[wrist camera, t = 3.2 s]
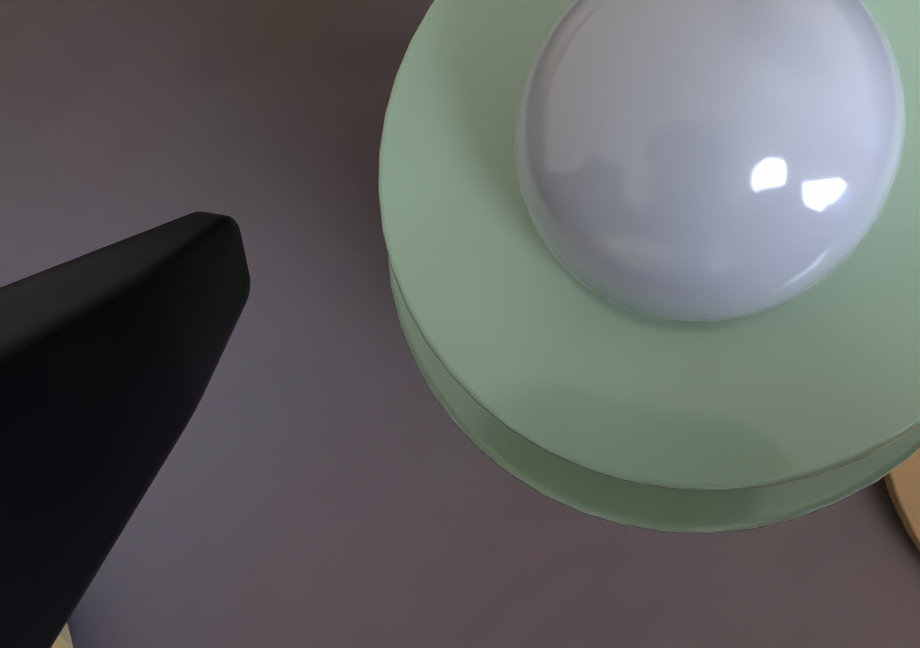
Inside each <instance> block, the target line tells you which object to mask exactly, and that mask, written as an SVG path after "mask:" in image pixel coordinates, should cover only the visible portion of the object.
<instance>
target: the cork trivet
mask: <svg viewBox="0 0 920 648" xmlns="http://www.w3.org/2000/svg"><path fill="white" fill-rule="evenodd" d="M884 480H885V483H886V486H887V489H888V492H889V495H890V498H891V501H892V503H893V505H894V507H895V509H896V511H897V513H898V515H899V517H900V520H901V522H902V524H903V526H904V528H905V530H906V532H907V533H908V535H909V536H910V538H911V539H912V541H913V543H914V544H915V546H916V547H917V549H918V550H919V552H920V449H919V450H918V451H917V452H916V453H914V454H913V455H912V456H911V457H910V458H909V459H908V460H906V461H905V462H903V463H902V464H901V465H899V466H898V467H897V468H895V469H894V470H892V471H891V472H890V473H888V474H887V475H885V476H884Z"/></svg>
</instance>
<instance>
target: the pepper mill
mask: <svg viewBox="0 0 920 648" xmlns="http://www.w3.org/2000/svg"><path fill="white" fill-rule="evenodd" d="M378 195H379V204H380V213H381V223H382V232H383V236H384V240H385V244H386V248H387V258H388V267H389V276H390V285H391V291H392V295H393V299H394V303H395V307H396V311H397V315H398V319H399V324H400V326H401V329H402V331H403V334H404V337H405V339H406V342H407V344H408V347H409V349H410V352H411V355H412V357H413V359H414V361H415V363H416V365H417V367H418V369H419V370H420V372H421V374H422V376H423V378H424V380H425V381H426V383H427V385H428V387H429V389H430V391H431V392H432V394H433V395H434V396H435V398H436V399H437V400H438V402H439V403H440V404H441V406H442V407H443V409H444V410H445V411H446V413H447V414H448V415H449V417H450V418H451V420H452V421H453V422H454V423H455V424H456V425H457V427H458V428H459V429H460V430H461V431H462V432H463V433H464V434H465V435H466V436H467V437H468V438H469V439H470V440H471V441H472V442H473V443H474V444H475V445H476V446H477V448H478V449H479V450H480V451H482V452H483V453H484V454H485V455H487V456H488V457H489V458H490V459H491V460H493V461H494V462H495V463H496V464H498V465H499V466H500V467H501V468H503V469H504V470H505V471H506V472H508V473H509V474H510V475H511V476H513V477H515V478H516V479H518V480H519V481H521V482H523V483H524V484H526V485H528V486H529V487H531V488H532V489H534V490H536V491H537V492H539V493H541V494H542V495H544V496H546V497H548V498H550V499H552V500H554V501H557V502H559V503H561V504H563V505H566V506H568V507H570V508H572V509H574V510H577V511H579V512H581V513H584V514H587V515H590V516H594V517H597V518H600V519H604V520H607V521H610V522H614V523H617V524H620V525H624V526H630V527H636V528H642V529H648V530H654V531H660V532H674V533H701V534H710V533H720V532H731V531H742V530H751V529H756V528H760V527H765V526H769V525H773V524H778V523H782V522H787V521H791V520H795V519H797V518H800V517H803V516H805V515H808V514H811V513H813V512H816V511H819V510H822V509H824V508H827V507H830V506H832V505H835V504H837V503H839V502H841V501H842V500H844V499H846V498H848V497H850V496H852V495H854V494H856V493H858V492H859V491H861V490H863V489H865V488H867V487H869V486H871V485H873V484H874V483H876V482H877V481H878V480H880V479H881V478H883V477H884V476H885V475H887V474H888V473H890V472H891V471H892V470H894V469H895V468H897V467H898V466H899V465H901V464H902V463H903V462H905V461H906V460H908V459H909V458H910V457H911V456H912V455H913V454H914V453H916V452H917V451H918V450H919V449H920V0H435V1H434V2H433V3H432V5H431V6H430V8H429V10H428V11H427V13H426V15H425V17H424V18H423V20H422V22H421V24H420V25H419V27H418V29H417V31H416V32H415V34H414V36H413V38H412V40H411V42H410V44H409V46H408V49H407V51H406V53H405V56H404V58H403V61H402V63H401V65H400V68H399V70H398V73H397V75H396V78H395V81H394V85H393V88H392V92H391V95H390V99H389V102H388V106H387V110H386V113H385V117H384V124H383V131H382V138H381V144H380V151H379V181H378Z"/></svg>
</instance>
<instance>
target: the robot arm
mask: <svg viewBox="0 0 920 648" xmlns="http://www.w3.org/2000/svg"><path fill="white" fill-rule="evenodd" d="M249 291H250V275H249V271H248V266H247V261H246V256H245V252H244V247H243V242H242V238H241V233H240V229H239V226H238V224H237V223H236V221H235V220H234V219H233V218H231V217H230V216H226V215H220V214H214V213H208V212H194V213H191V214H188V215H186V216H183V217H181V218H178V219H175V220H173V221H170V222H168V223H165V224H163V225H160V226H157V227H155V228H152V229H150V230H147V231H145V232H142V233H139V234H137V235H134V236H132V237H129V238H127V239H124V240H121V241H119V242H116V243H114V244H111V245H109V246H106V247H103V248H101V249H98V250H96V251H93V252H91V253H88V254H85V255H83V256H80V257H78V258H75V259H73V260H70V261H67V262H65V263H62V264H60V265H57V266H55V267H52V268H50V269H47V270H44V271H42V272H39V273H37V274H34V275H32V276H29V277H26V278H24V279H21V280H19V281H16V282H14V283H11V284H8V285H6V286H3V287H1V288H0V648H51V647H52V645H53V644H54V642H55V640H56V639H57V637H58V636H59V634H60V632H61V631H62V629H63V627H64V626H65V624H66V622H67V621H68V619H69V618H70V616H71V614H72V613H73V611H74V609H75V608H76V606H77V604H78V603H79V601H80V600H81V598H82V596H83V595H84V593H85V591H86V590H87V588H88V586H89V585H90V583H91V581H92V580H93V578H94V577H95V575H96V573H97V572H98V570H99V568H100V567H101V565H102V563H103V562H104V560H105V559H106V557H107V555H108V554H109V552H110V550H111V549H112V547H113V545H114V544H115V542H116V540H117V539H118V537H119V536H120V534H121V532H122V531H123V529H124V527H125V526H126V524H127V522H128V521H129V519H130V518H131V516H132V514H133V513H134V511H135V509H136V508H137V506H138V504H139V503H140V501H141V500H142V498H143V496H144V495H145V493H146V491H147V490H148V488H149V486H150V485H151V483H152V481H153V480H154V478H155V477H156V475H157V473H158V472H159V470H160V468H161V467H162V465H163V463H164V462H165V460H166V459H167V457H168V455H169V454H170V452H171V450H172V449H173V447H174V445H175V444H176V442H177V441H178V439H179V437H180V436H181V434H182V432H183V431H184V429H185V427H186V426H187V424H188V422H189V420H190V419H191V417H192V415H193V413H194V412H195V410H196V408H197V406H198V404H199V402H200V400H201V398H202V396H203V394H204V392H205V390H206V388H207V386H208V383H209V381H210V379H211V377H212V375H213V373H214V371H215V368H216V366H217V364H218V362H219V360H220V358H221V355H222V353H223V351H224V349H225V347H226V345H227V343H228V340H229V338H230V336H231V334H232V332H233V330H234V328H235V325H236V323H237V321H238V319H239V317H240V315H241V312H242V310H243V308H244V306H245V304H246V301H247V299H248V295H249Z"/></svg>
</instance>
